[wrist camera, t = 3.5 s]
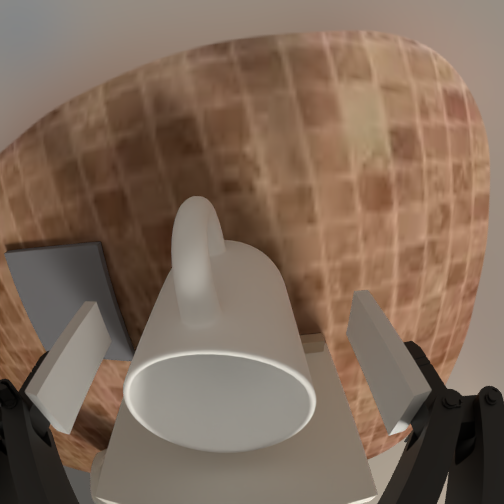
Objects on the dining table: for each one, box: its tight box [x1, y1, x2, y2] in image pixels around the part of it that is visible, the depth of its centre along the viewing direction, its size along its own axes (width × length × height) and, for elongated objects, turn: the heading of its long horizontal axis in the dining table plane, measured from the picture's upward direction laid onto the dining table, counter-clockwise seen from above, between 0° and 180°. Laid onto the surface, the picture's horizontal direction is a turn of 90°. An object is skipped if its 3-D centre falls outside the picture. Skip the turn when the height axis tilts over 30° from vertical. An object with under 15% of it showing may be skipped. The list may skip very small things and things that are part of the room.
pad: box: [4, 242, 135, 361], centre depth 19 cm, size 11×11×1 cm
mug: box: [123, 196, 316, 453], centre depth 14 cm, size 12×8×10 cm
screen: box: [95, 333, 378, 504], centre depth 16 cm, size 16×4×14 cm, turn 92°
